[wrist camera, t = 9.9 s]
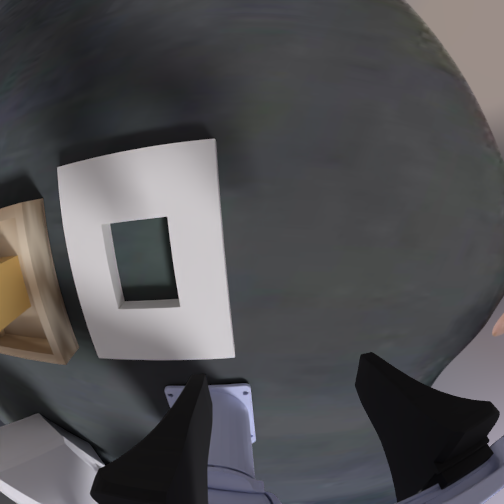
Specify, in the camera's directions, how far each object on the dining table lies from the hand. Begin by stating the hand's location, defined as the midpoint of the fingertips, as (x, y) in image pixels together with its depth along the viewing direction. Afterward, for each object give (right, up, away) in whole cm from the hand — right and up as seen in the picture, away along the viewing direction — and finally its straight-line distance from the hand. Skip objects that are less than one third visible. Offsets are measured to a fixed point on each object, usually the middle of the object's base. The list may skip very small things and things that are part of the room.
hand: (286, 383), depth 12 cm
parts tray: (-24, +3, +8) cm, 26 cm away
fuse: (-24, +3, +7) cm, 26 cm away
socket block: (-10, +5, +8) cm, 14 cm away
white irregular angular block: (-29, -20, +14) cm, 38 cm away
